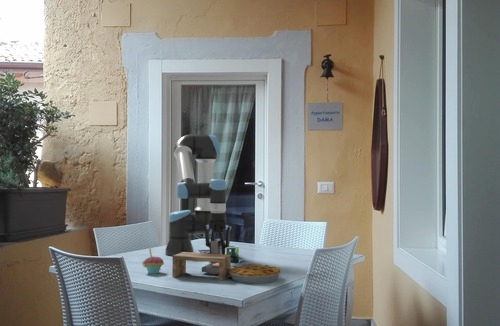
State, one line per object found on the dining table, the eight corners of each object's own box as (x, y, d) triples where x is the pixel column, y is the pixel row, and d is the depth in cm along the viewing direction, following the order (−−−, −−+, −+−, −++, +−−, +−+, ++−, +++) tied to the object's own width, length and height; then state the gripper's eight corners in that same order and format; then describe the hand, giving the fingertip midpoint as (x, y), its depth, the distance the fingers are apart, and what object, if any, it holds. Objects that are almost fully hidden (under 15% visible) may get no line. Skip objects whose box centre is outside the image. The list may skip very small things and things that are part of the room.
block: (216, 271, 238) (216, 262, 238) (229, 272, 237) (229, 263, 237) (211, 274, 233) (211, 265, 233) (224, 275, 231) (224, 265, 231)
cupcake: (144, 275, 229) (144, 247, 230) (143, 271, 238) (143, 244, 238) (164, 274, 232) (164, 246, 232) (162, 270, 240) (162, 243, 240)
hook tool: (216, 263, 253) (216, 238, 253) (234, 265, 250) (234, 239, 250) (200, 271, 233) (200, 244, 233) (218, 273, 230) (219, 245, 230)
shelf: (182, 272, 236) (182, 251, 236) (230, 275, 230) (230, 254, 230) (172, 276, 226) (172, 255, 226) (222, 280, 219) (222, 258, 219)
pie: (251, 271, 239) (251, 260, 239) (291, 278, 225) (291, 266, 225) (218, 279, 222) (218, 267, 222) (258, 287, 208) (259, 274, 208)
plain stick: (142, 266, 251) (142, 261, 251) (147, 265, 253) (147, 260, 253) (155, 270, 242) (155, 264, 242) (160, 269, 244) (160, 264, 244)
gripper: (198, 212, 248) (197, 262, 247) (232, 213, 243) (231, 264, 243) (204, 211, 255) (203, 259, 255) (237, 212, 250) (236, 261, 250)
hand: (217, 262), depth 249 cm, fingers closed on hook tool, 3 cm apart
